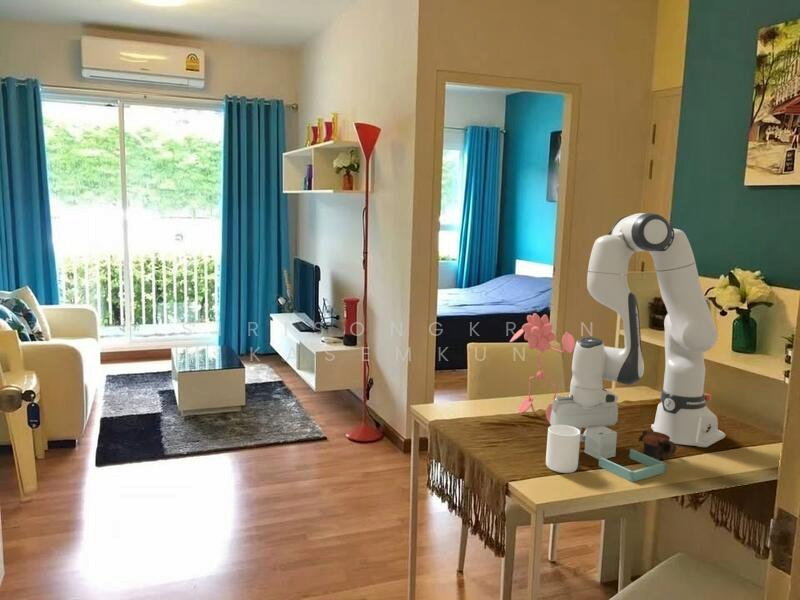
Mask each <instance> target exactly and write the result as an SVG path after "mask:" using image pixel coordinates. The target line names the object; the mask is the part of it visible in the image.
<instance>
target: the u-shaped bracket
mask: <svg viewBox="0 0 800 600" xmlns="http://www.w3.org/2000/svg"><path fill="white" fill-rule="evenodd" d="M629 459H631V460H632V461H633V460H634V461H636V462H638V463H640V464H642V465H645V466H646V467H643V468H640V469H636V470H632V469H628V468H626V467H624V466H622V465H620V464H617V463H615V462H613V461H611V460H608V458H606V459H605V458H602V457H599V460H598V467H599V468H602V469H604V470H607V471H609V472H611V473H612V474H614V475H617V476H619V477H621V478H623V479H625V480H626V481H630V482H631V483H634V482H637V481H640V480H643V479H644V480H645V479H647V478H650V477H654V476H657V475H661V474H665V473H666V470H667V463H665V462H664V461H661V460H660V459H659V460H656V459H654V458H652V457H649V456H647V455H644V454H642V453H640V452H638V451H637V450H635V449H634V448H633V449H629Z"/></svg>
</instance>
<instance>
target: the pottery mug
mask: <svg viewBox="0 0 800 600" xmlns="http://www.w3.org/2000/svg"><path fill="white" fill-rule="evenodd" d="M641 433H642V434H641V435H639V437H638V438H637V439H638V442H639V443H640V442H643V449H638V451H637V452H640V453H642V454H644V455H647V456H649V457H652V458H654V459H656V460H659V461H660V459H661V458H662V459H663V460H664V461H666V460H668V459H669V458H670V457H672V456H674V455H675V453H676V451H677V444H676V443H673V442H671V441H669V439H670V437H669V436H668V435H666V434H663V433H659V432H654V431H653V430H643V431H642V432H641Z"/></svg>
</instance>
